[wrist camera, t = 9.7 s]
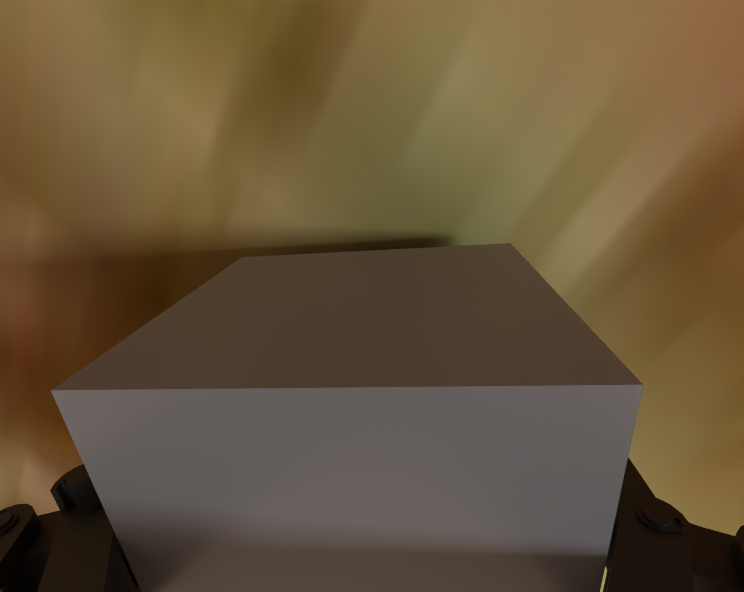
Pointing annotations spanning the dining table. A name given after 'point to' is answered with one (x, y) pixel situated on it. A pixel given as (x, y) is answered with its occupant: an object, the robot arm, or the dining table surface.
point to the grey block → (360, 429)
